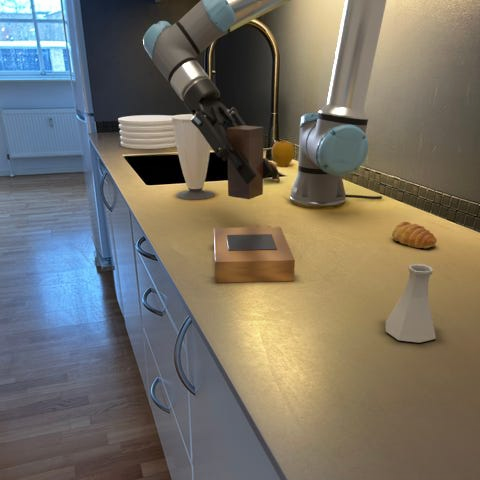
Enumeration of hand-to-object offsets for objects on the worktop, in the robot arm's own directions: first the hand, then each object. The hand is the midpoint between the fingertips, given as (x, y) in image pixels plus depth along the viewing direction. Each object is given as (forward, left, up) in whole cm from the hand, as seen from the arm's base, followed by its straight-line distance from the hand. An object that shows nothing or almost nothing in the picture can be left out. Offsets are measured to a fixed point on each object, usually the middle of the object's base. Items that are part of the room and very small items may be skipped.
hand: (259, 176), depth 108 cm
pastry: (-33, +6, -13) cm, 36 cm away
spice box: (+3, -2, -4) cm, 6 cm away
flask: (-18, +46, -13) cm, 51 cm away
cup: (+15, -40, -13) cm, 45 cm away
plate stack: (+38, -142, -13) cm, 148 cm away
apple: (-16, -85, -13) cm, 88 cm away
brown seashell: (-7, -58, -13) cm, 60 cm away
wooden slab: (+3, +16, -13) cm, 21 cm away
